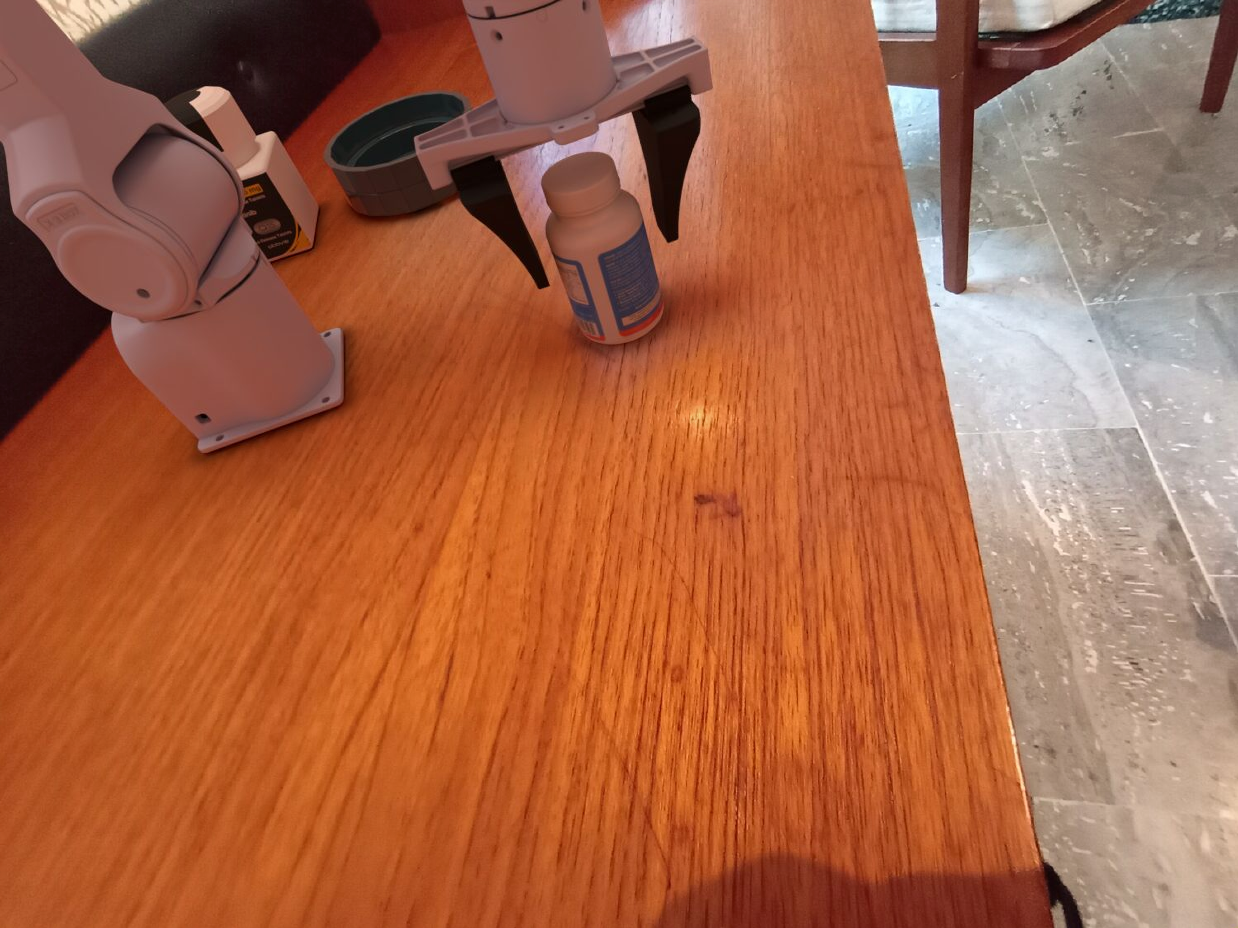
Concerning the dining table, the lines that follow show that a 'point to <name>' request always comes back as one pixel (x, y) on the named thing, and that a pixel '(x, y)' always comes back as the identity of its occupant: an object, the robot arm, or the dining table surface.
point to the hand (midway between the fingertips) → (604, 255)
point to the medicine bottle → (254, 171)
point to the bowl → (391, 153)
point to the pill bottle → (601, 249)
